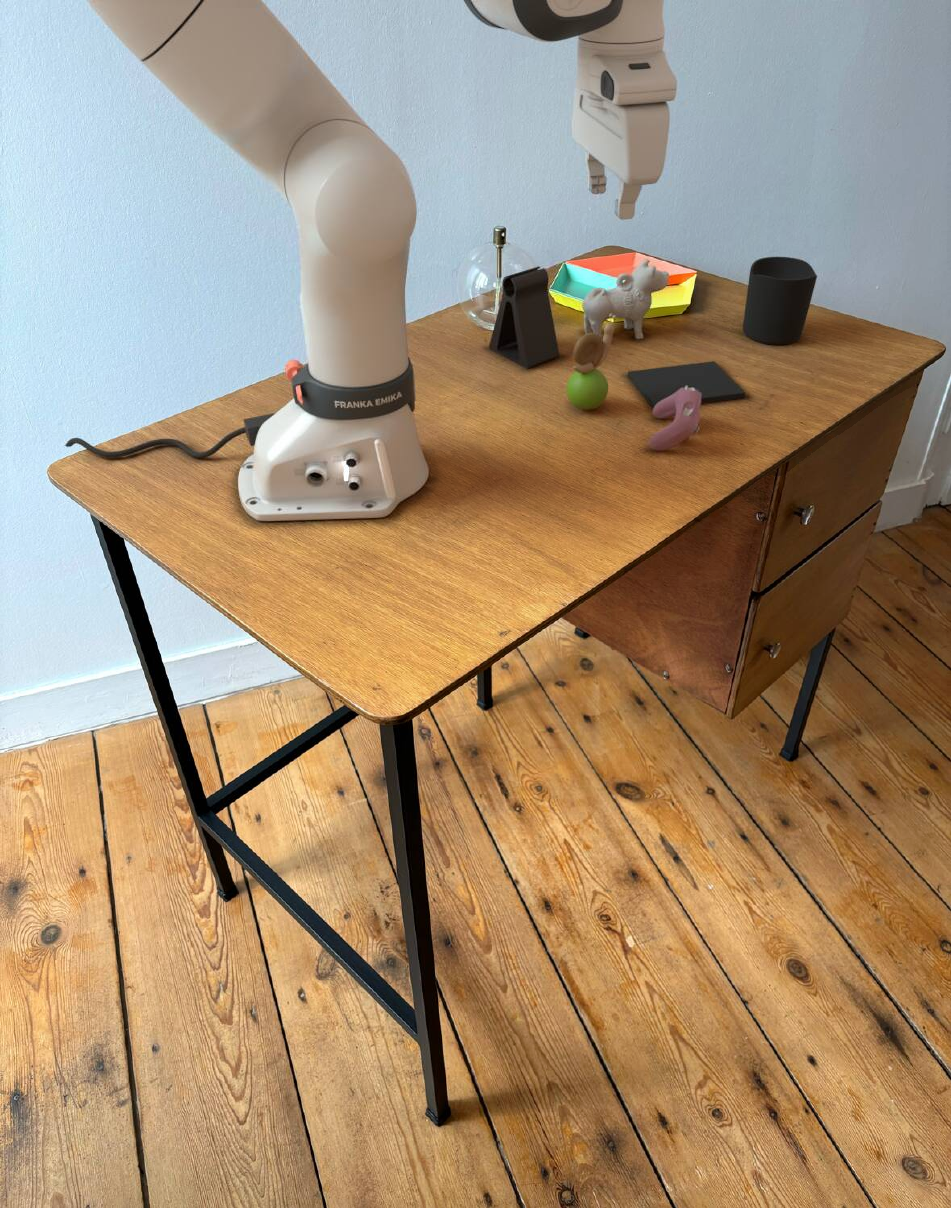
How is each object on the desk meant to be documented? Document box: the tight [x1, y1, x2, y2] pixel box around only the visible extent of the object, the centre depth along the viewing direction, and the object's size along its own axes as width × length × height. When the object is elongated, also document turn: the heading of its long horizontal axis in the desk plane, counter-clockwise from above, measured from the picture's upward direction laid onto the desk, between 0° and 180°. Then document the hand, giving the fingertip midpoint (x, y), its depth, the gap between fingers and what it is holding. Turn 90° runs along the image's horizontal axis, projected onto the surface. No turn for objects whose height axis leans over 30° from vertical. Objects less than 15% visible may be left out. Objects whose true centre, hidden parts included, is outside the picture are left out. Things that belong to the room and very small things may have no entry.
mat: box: [627, 360, 746, 409], centre depth 131 cm, size 13×10×1 cm
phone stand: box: [488, 265, 560, 369], centre depth 137 cm, size 9×6×12 cm, turn 37°
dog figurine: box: [581, 258, 670, 340], centre depth 142 cm, size 5×13×11 cm, turn 106°
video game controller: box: [648, 385, 702, 452], centre depth 120 cm, size 10×5×7 cm, turn 168°
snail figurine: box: [566, 313, 618, 411], centre depth 124 cm, size 5×6×12 cm
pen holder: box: [742, 256, 818, 346], centre depth 141 cm, size 9×9×10 cm
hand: (609, 204), depth 109 cm, fingers open, 8 cm apart
